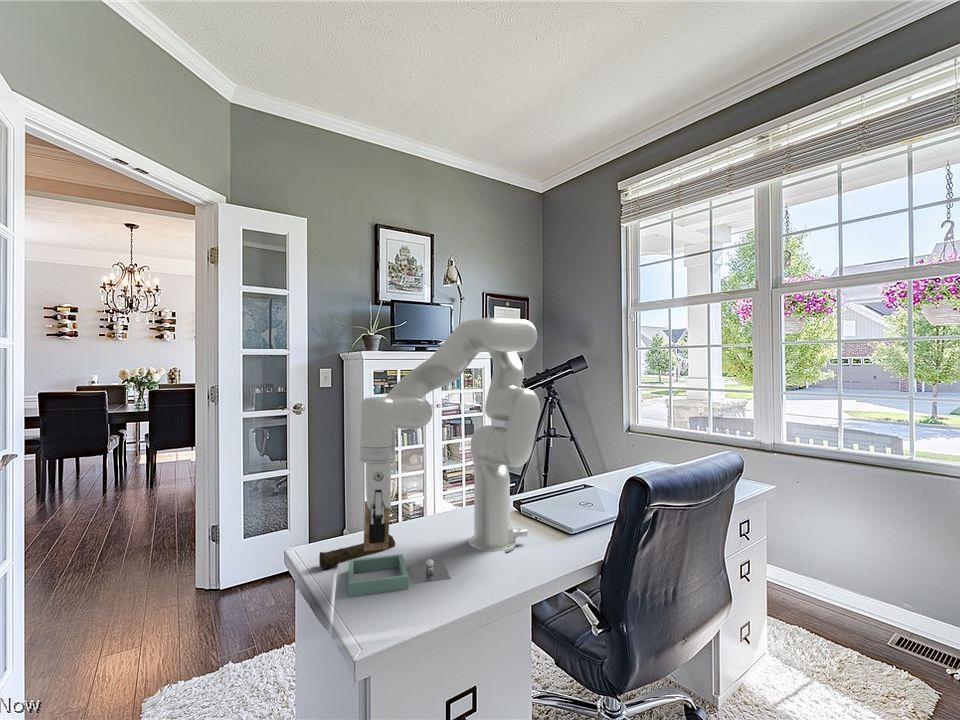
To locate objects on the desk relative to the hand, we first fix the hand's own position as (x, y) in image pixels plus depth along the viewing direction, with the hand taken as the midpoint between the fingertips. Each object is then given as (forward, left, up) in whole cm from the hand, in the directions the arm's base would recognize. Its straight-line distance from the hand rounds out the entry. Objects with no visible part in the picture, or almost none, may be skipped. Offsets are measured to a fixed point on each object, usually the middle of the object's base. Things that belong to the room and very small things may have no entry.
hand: (376, 536), depth 98 cm
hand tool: (+4, -15, -11) cm, 19 cm away
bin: (0, 0, -10) cm, 10 cm away
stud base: (-12, 0, -10) cm, 16 cm away
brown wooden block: (0, 0, -2) cm, 2 cm away
